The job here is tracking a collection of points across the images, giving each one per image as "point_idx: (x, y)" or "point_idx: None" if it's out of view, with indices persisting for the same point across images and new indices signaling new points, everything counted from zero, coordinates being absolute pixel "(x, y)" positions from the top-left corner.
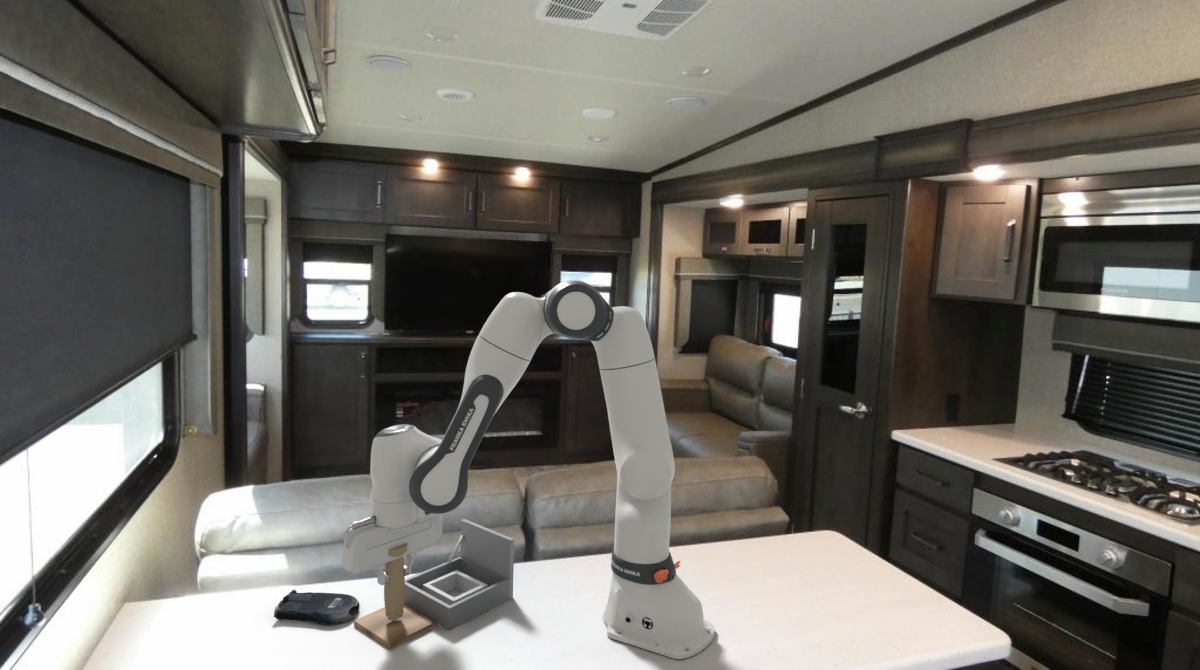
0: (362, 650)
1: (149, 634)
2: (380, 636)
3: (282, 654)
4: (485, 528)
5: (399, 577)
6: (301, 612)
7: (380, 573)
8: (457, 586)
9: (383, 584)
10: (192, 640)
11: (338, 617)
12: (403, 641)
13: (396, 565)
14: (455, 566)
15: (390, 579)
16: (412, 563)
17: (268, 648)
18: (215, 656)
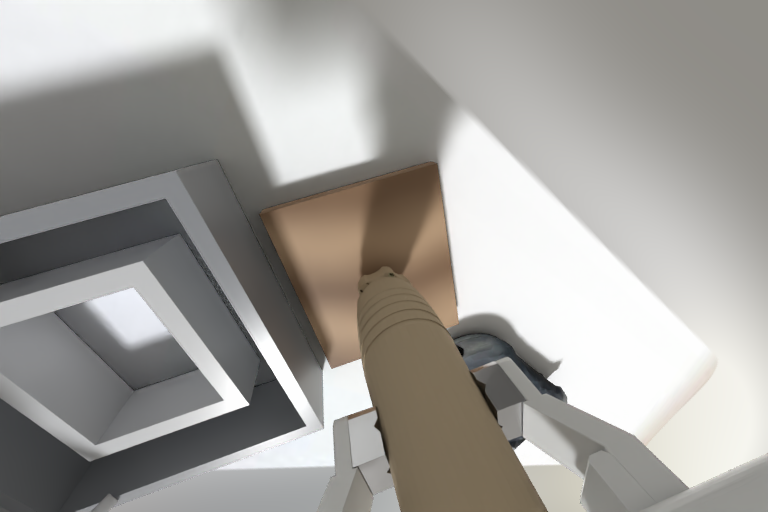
0: (487, 201)
1: (661, 396)
2: (442, 221)
3: (599, 273)
4: None
5: (431, 385)
6: (536, 380)
7: (587, 416)
8: (123, 394)
9: (505, 358)
10: (645, 367)
11: (487, 342)
12: (386, 175)
13: (495, 478)
14: (96, 481)
15: (474, 383)
16: (327, 496)
17: (601, 303)
18: (656, 315)
